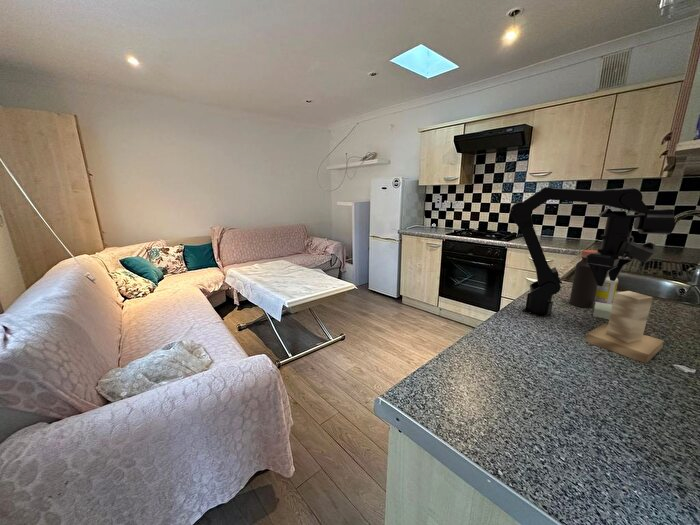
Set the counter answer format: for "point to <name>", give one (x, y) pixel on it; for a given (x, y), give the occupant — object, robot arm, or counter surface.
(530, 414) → the counter surface
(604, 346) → the oak block
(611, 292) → the supplement bottle
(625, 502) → the counter surface
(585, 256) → the vinegar
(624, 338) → the beech post
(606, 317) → the sage block
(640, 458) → the counter surface
